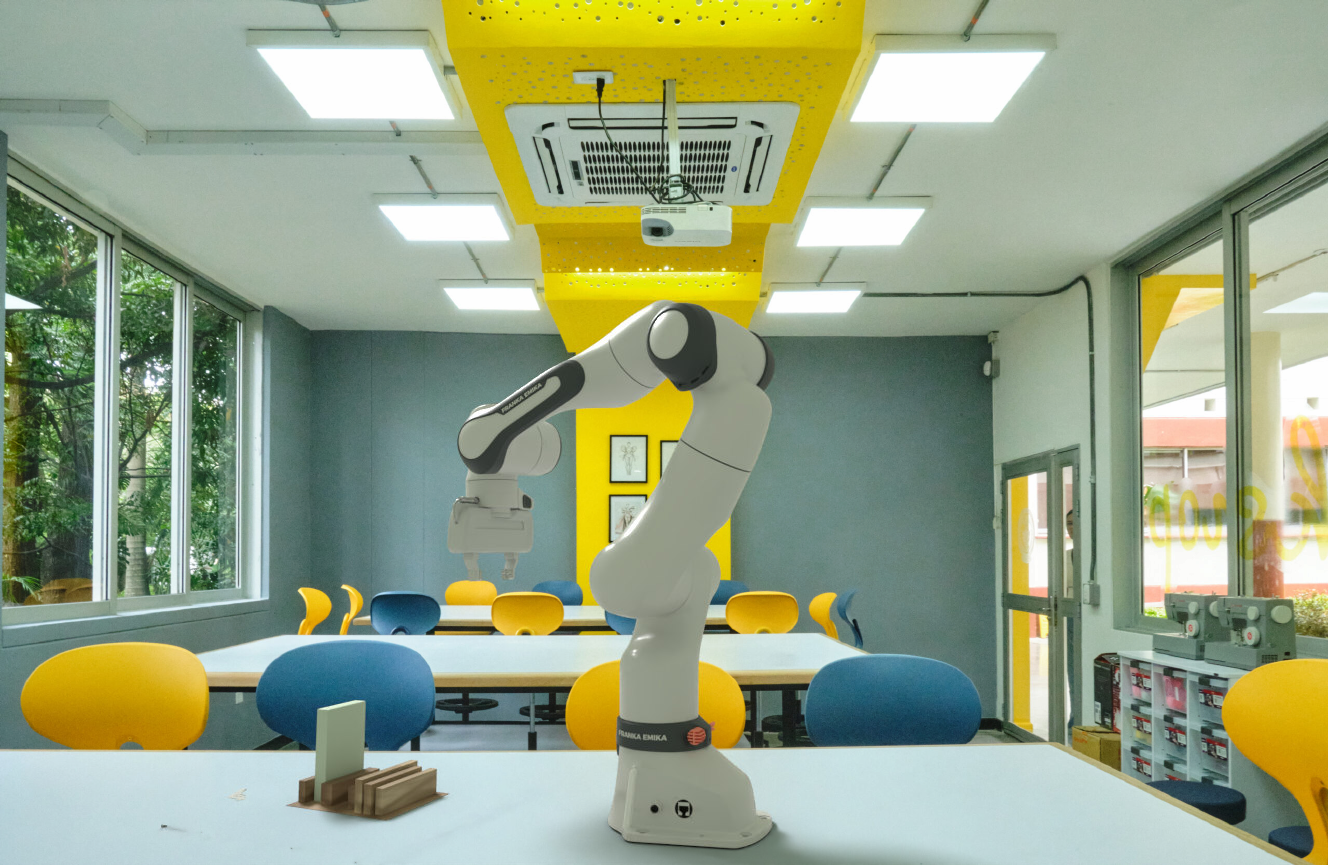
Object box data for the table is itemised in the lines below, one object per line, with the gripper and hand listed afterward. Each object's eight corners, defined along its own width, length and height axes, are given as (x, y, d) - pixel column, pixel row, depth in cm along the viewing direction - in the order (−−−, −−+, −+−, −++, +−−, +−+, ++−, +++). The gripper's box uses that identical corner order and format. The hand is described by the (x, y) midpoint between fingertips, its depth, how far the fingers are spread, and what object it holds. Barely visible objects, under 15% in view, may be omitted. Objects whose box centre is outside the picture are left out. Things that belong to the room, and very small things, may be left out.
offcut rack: (449, 801, 137) (450, 762, 138) (385, 829, 124) (387, 785, 125) (354, 789, 144) (355, 751, 145) (285, 813, 131) (287, 772, 132)
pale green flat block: (363, 788, 140) (365, 700, 142) (324, 802, 133) (327, 709, 134) (352, 786, 141) (355, 700, 142) (314, 800, 134) (317, 708, 135)
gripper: (469, 494, 147) (469, 581, 145) (539, 500, 165) (540, 578, 163) (438, 496, 149) (437, 582, 147) (509, 502, 168) (510, 579, 166)
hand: (492, 580), depth 155 cm, fingers open, 8 cm apart
